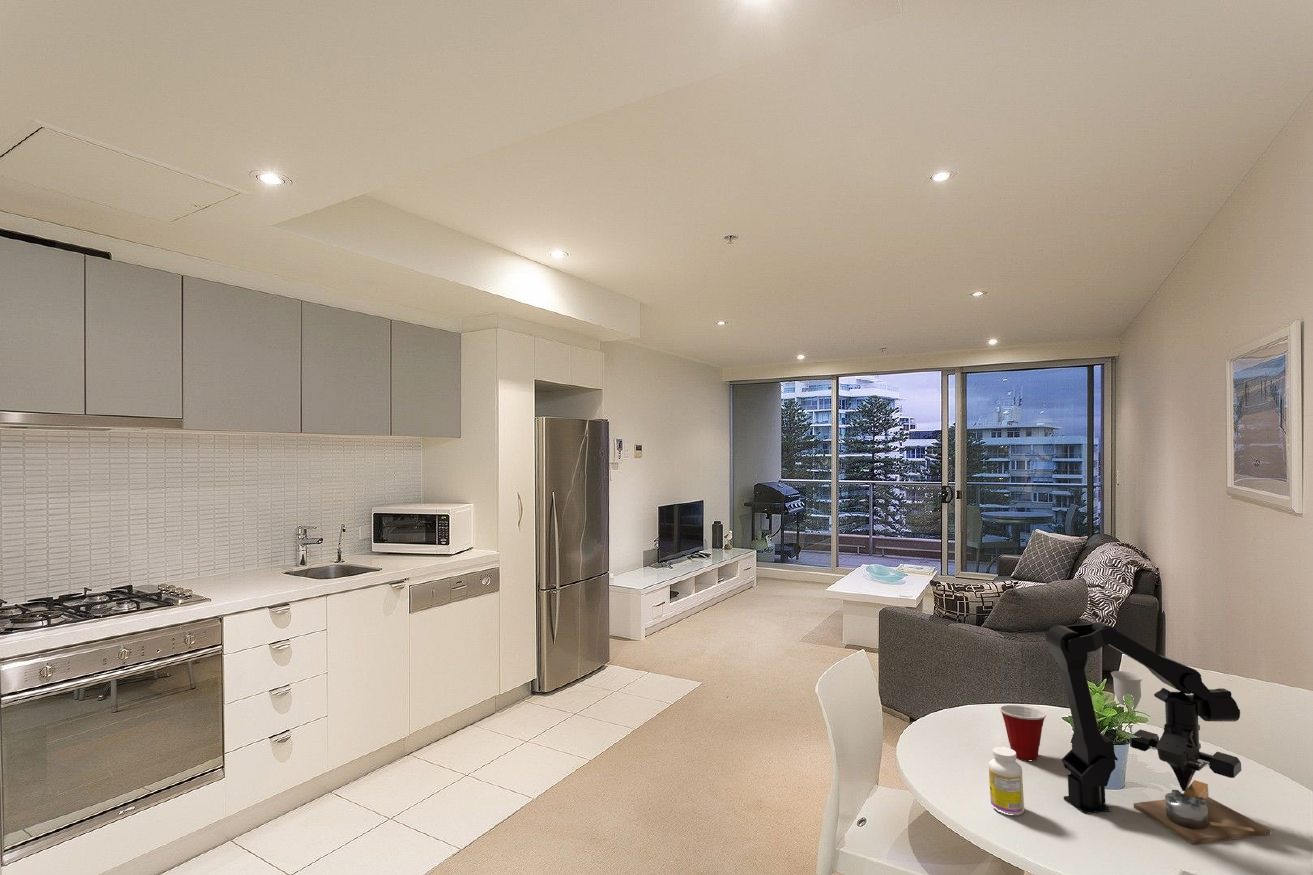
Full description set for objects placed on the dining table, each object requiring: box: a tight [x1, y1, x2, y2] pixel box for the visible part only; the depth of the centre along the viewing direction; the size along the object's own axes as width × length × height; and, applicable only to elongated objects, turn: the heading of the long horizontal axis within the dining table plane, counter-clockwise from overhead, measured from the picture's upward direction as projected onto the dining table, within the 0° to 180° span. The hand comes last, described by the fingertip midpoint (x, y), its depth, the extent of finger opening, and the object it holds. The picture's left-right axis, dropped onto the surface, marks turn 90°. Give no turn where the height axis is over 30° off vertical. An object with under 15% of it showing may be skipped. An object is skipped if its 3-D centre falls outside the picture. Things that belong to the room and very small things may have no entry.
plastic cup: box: [999, 704, 1047, 762], centre depth 171 cm, size 11×11×12 cm
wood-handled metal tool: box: [1164, 779, 1210, 828], centre depth 141 cm, size 16×7×4 cm, turn 128°
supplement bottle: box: [988, 746, 1025, 816], centre depth 147 cm, size 7×7×13 cm
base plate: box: [1133, 796, 1272, 845], centre depth 140 cm, size 18×14×1 cm
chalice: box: [1110, 670, 1143, 734], centre depth 177 cm, size 7×7×18 cm
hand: (1184, 790), depth 146 cm, fingers closed
